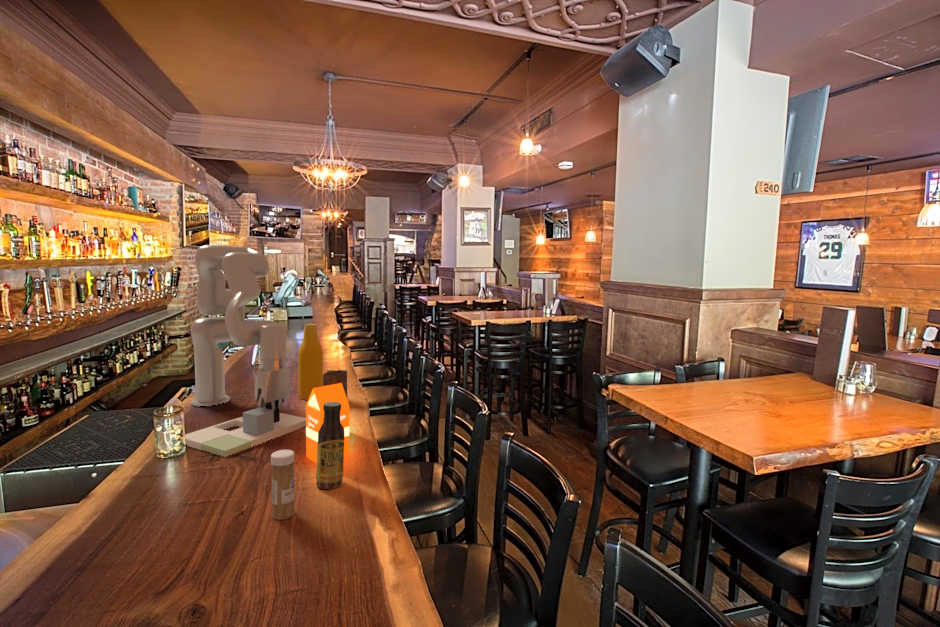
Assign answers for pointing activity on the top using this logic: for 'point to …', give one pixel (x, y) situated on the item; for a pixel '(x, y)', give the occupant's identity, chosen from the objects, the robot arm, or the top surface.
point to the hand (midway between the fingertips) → (273, 421)
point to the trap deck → (239, 435)
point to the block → (258, 421)
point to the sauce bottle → (330, 448)
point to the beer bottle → (310, 362)
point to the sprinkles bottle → (283, 484)
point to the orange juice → (317, 416)
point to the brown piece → (336, 378)
